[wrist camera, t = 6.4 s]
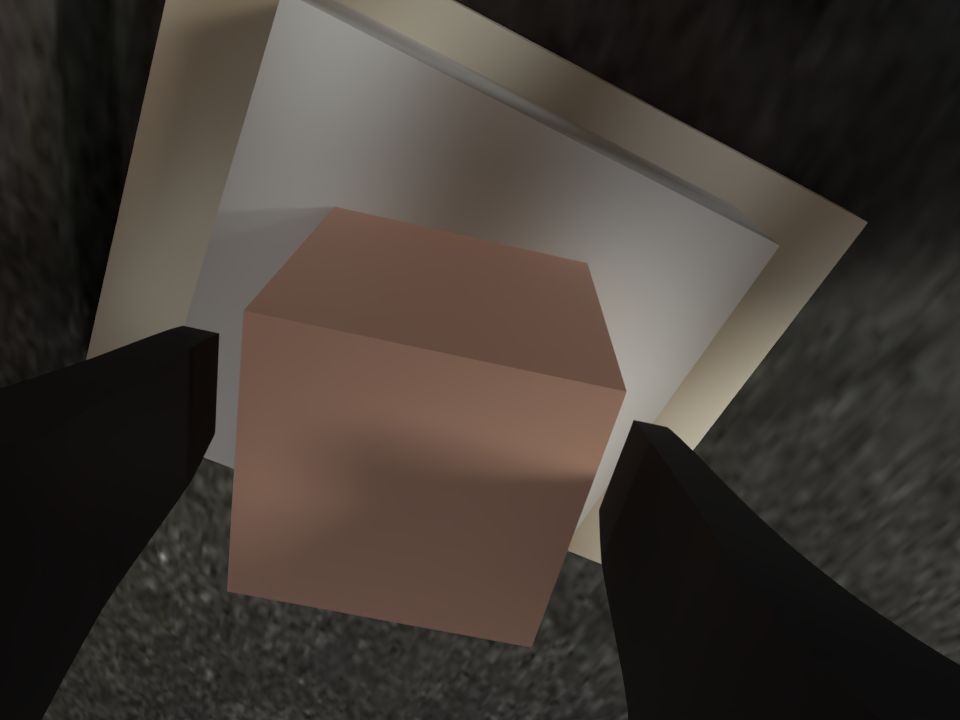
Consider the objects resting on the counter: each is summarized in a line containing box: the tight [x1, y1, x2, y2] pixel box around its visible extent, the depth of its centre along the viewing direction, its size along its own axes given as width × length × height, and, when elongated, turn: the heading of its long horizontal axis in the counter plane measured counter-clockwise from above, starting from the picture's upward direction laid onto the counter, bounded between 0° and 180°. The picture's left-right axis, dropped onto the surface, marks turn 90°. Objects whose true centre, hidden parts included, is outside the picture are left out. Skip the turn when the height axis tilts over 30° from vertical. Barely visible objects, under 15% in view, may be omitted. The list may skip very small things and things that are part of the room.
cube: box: [227, 207, 627, 647], centre depth 12 cm, size 5×5×5 cm
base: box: [86, 0, 868, 564], centre depth 16 cm, size 16×12×4 cm
